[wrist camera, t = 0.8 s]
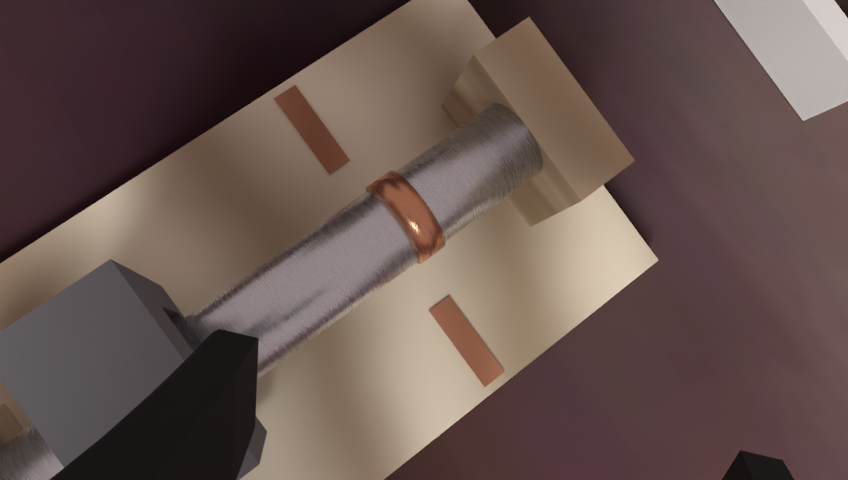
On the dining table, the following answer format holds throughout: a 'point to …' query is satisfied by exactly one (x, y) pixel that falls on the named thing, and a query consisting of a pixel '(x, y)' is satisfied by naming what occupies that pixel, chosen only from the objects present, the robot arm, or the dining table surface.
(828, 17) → the parts frame
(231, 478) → the robot arm
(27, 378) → the collar
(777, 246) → the dining table surface
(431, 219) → the pipe
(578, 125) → the pipe stand
